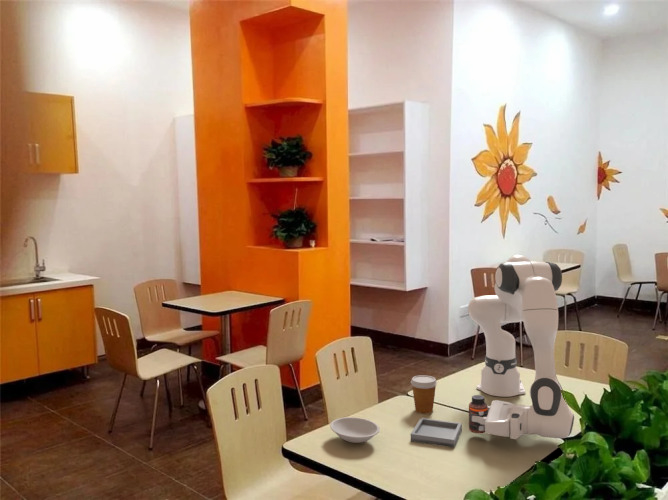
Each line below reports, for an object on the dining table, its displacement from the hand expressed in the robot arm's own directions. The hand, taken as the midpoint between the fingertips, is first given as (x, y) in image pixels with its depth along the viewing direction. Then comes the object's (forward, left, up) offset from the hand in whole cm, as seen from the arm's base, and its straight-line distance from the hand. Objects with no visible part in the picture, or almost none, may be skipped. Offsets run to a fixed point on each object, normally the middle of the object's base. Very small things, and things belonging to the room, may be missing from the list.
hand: (473, 413), depth 185 cm
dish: (+16, -36, -8) cm, 40 cm away
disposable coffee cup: (-17, -20, -8) cm, 28 cm away
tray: (+3, -12, -8) cm, 14 cm away
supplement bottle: (0, +1, -6) cm, 6 cm away
